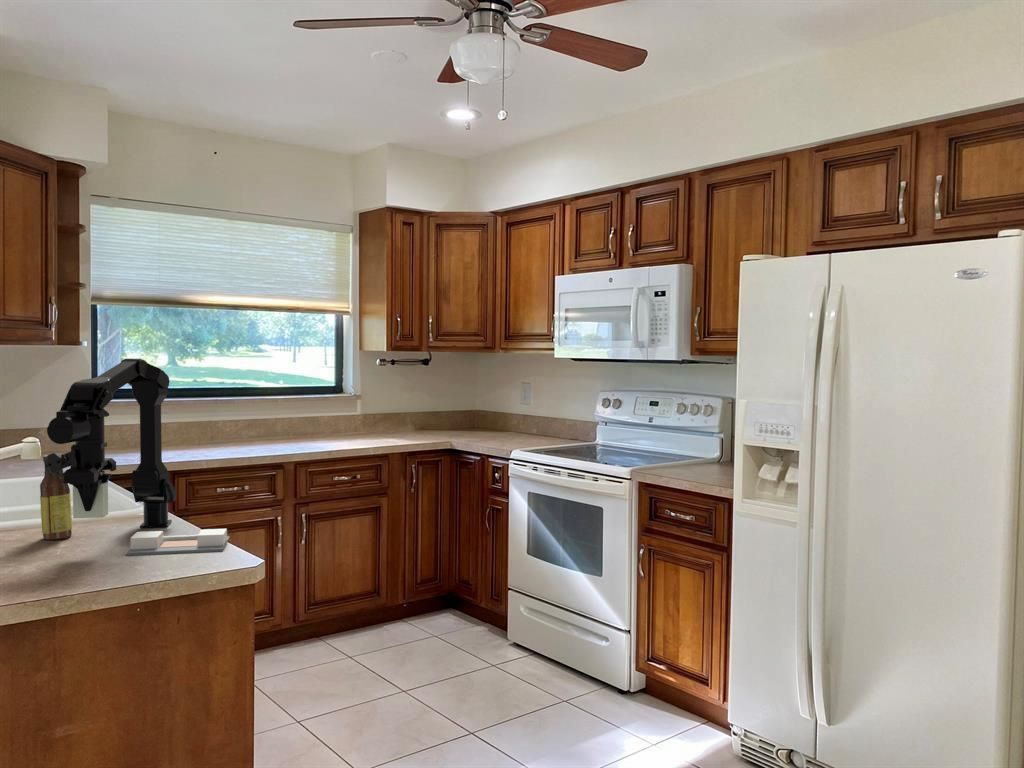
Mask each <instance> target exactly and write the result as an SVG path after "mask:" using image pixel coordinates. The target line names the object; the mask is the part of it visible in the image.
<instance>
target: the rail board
mask: <svg viewBox="0 0 1024 768" xmlns="http://www.w3.org/2000/svg"><path fill="white" fill-rule="evenodd" d="M229 540H230V535H228V528H207V529H206V528H205V529H201V530H200V531H199V532H198V534H185V535H184V534H182V535H180V534H179V535H164V530H158V531H157V530H155V531H154V530H153V531H152V530H151V531H137V532H135V534H132V536H131V537H130V548H129V550H127V551H126V555H125V556H141V555H142V556H146V555H148V556H149V555H163V554H164V555H166V554H167V555H168V554H170V555H171V554H186V553H187V554H189V553H191V554H192V553H193V554H194V553H210V552H211V553H213V552H223V551H225V548H226V546H227V544H228V542H229ZM226 543H227V544H226Z"/></svg>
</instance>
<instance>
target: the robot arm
mask: <svg viewBox="0 0 1024 768" xmlns="http://www.w3.org/2000/svg"><path fill="white" fill-rule="evenodd" d="M170 381H171V380H170V377H169V376H168V374H167V373H166V372H165V371H164V370H163V369H162V368H160V367H157V366H154V365H153V364H150V363H148V362H147V361H146V359H142V358H124V359H121V361H120V362H119V363H117V364H116V365H114V366H113V367H111V368H110V369H108V370H106V371H104V372H103V373H102V374H99V375H98V376H96V377H92V378H85V379H81V380H78V381H75V382H73V383H72V384H71V385H70V387H69V389H68V391H67V392H66V393H67V394H66V396H65V398H64V401H63V403H62V405H61V408H60V410H58V411H57V410H56V413H55V414H56V415H55V417H54V418H52V419H51V420H50V422H49V423H48V426H47V428H46V432H47V436H48V438H49V439H50V441H52V442H53V443H54V444H56V445H57V444H58V445H64V444H69V443H74V444H72V445H71V446H70V451H68V452H67V451H66V452H64V453H62V454H61V455H60V453H58V452H57V451H56V452H53V453H49V454H46V455H47V460H45V465H44V469H45V468H48V469H49V471H50V474H52V473H55V472H56V471H58V470H61V469H63V470H64V469H66V468H68V467H69V468H68V469H66V470H65V471H63V474H62V483H68V485H71V486H72V487H73V486H74V487H76V488H77V489H78V492H79V494H80V497H81V500H82V503H83V506H84V509H85V511H91V509H92V506H93V504H94V501H95V498H96V495H97V492H98V489H99V487H100V484H101V483H109V480H110V478H111V477H112V473H106V472H105V471H110V472H114V471H116V470H117V461H116V460H115V459H114V458H112V457H106V455H105V453H106V450H105V449H106V447H108V441H105V418H106V417H109V416H110V412H108V411H107V410H106V409H104V408H106V407H107V405H109V403H110V402H111V401H112V400H113V399H114V393H115V392H116V391H118V390H120V389H121V388H122V387H124V386H125V385H127V384H128V386H130V387H131V392H132V393H131V394H132V397H133V398H134V399H135V401H136V402H137V404H138V406H139V434H140V435H139V440H140V442H139V445H140V446H139V447H140V449H139V452H140V453H139V454H140V458H139V459H140V462H139V464H138V466H137V467H136V469H135V470H132V473H131V489H132V493H133V499H134V502H135V503H143V522H142V523H141V524H140V525H139V528H140V529H141V528H165V527H166V528H167V527H168V526H170V524H171V523H172V520H173V519H169V503H174V502H175V501H176V500H177V494H178V491H177V489H176V488H175V486H174V485H173V483H172V482H171V480H170V472H169V470H168V468H167V467H166V465H165V464H164V463H163V461H162V458H163V457H162V404H163V402H164V401H165V400H166V398H167V396H168V393H169V387H170Z"/></svg>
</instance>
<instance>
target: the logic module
mask: <svg viewBox="0 0 1024 768" xmlns="http://www.w3.org/2000/svg"><path fill="white" fill-rule="evenodd" d="M107 515H109V482H107V483H101V484H100V487H99V489H98V492H97V495H96V498H95V501H94V504H93V506H92V509H91V511H85V509H84V506H83V503H82V500H81V497H80V494H79V492H78V489H77V488H76V487H74V486H73V485H72V517H73V518H72V519H96V518H97V519H99V518H105V517H107Z"/></svg>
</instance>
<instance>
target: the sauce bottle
mask: <svg viewBox="0 0 1024 768" xmlns="http://www.w3.org/2000/svg"><path fill="white" fill-rule="evenodd" d="M59 454H60V453H59ZM47 455H48V454H46V455H43V456H42V459H43V460H42V461H43V463H44V464H43V465H44V466H45V460H47ZM60 455H61V454H60ZM63 473H64V468H63V469H61V470H58V471H56V472H55V473H52V474H50V471H49V469H48V468H45V467H44V476H43V478H42V480H41V482H40V485H39V491H40V493H39V495H40V496H39V499H40V500H39V502H40V517H41V519H40V520H41V533H42V534H43V535H42V537H43V539H44V540H46V541H47V540H49V541H56V540H57V541H58V540H63V539H67V538H70V537H71V536H72V534H73V533H72V532H73V531H72V530H73V518H72V517H73V515H72V503H71V501H72V499H71V488H70V486H69V483H62V474H63Z"/></svg>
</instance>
